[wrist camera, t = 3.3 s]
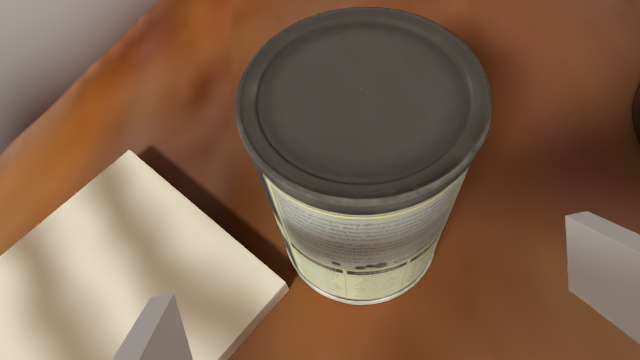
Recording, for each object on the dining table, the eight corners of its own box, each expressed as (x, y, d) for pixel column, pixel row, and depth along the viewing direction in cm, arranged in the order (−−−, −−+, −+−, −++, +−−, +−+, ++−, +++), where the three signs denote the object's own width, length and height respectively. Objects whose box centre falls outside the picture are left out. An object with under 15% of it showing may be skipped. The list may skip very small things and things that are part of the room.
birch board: (137, 160, 34) (129, 149, 33) (289, 289, 28) (285, 282, 27) (-117, 375, 27) (-141, 372, 26) (11, 606, 21) (-11, 617, 20)
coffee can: (255, 220, 31) (189, 79, 19) (369, 143, 33) (376, -25, 21) (347, 342, 26) (338, 261, 14) (470, 242, 29) (552, 101, 17)
